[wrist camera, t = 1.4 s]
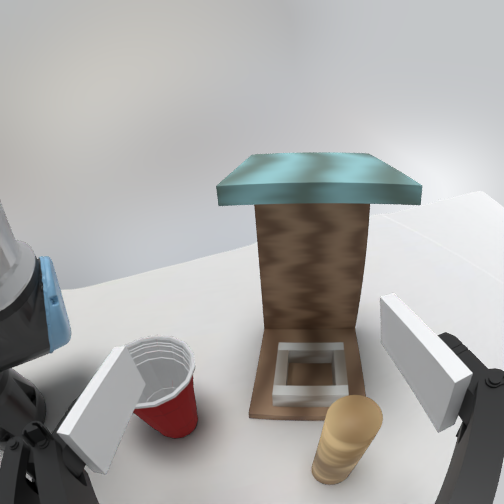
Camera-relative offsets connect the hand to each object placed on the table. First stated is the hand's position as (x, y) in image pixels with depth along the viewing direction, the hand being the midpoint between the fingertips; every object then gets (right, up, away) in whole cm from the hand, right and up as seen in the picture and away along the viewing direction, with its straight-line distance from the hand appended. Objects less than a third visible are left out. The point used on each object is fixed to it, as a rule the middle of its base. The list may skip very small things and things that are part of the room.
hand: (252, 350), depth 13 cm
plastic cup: (-10, -18, +19) cm, 27 cm away
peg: (+9, -20, +11) cm, 24 cm away
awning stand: (+8, -12, +25) cm, 29 cm away
